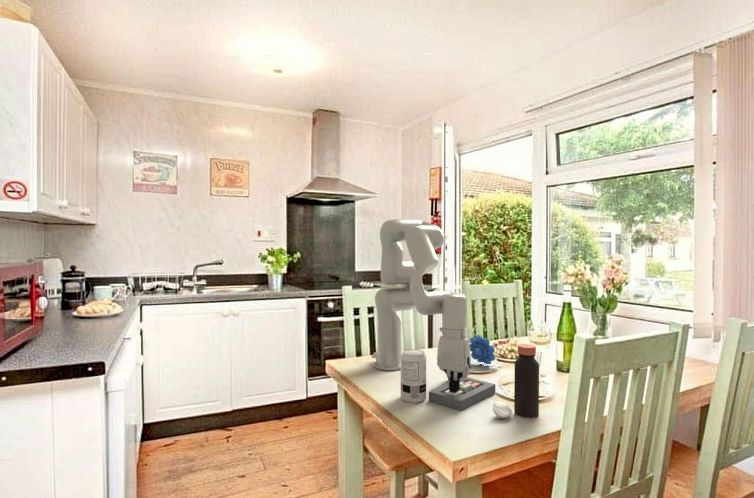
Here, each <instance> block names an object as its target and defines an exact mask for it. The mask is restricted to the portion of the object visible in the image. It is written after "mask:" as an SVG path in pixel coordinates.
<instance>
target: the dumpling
mask: <svg viewBox="0 0 754 498" xmlns="http://www.w3.org/2000/svg"><path fill="white" fill-rule="evenodd" d="M492 405H493V406H492V410H493V413H494V414H495V416H496V417H497V418H499V419H504V418H507V417H509V416H510V417H511V416H512V415H513V411H512V408H511V407H510V406H509V405H508V404H507V403H506V402H504V401H501V400H495V401H494V402H493V404H492Z"/></svg>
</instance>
